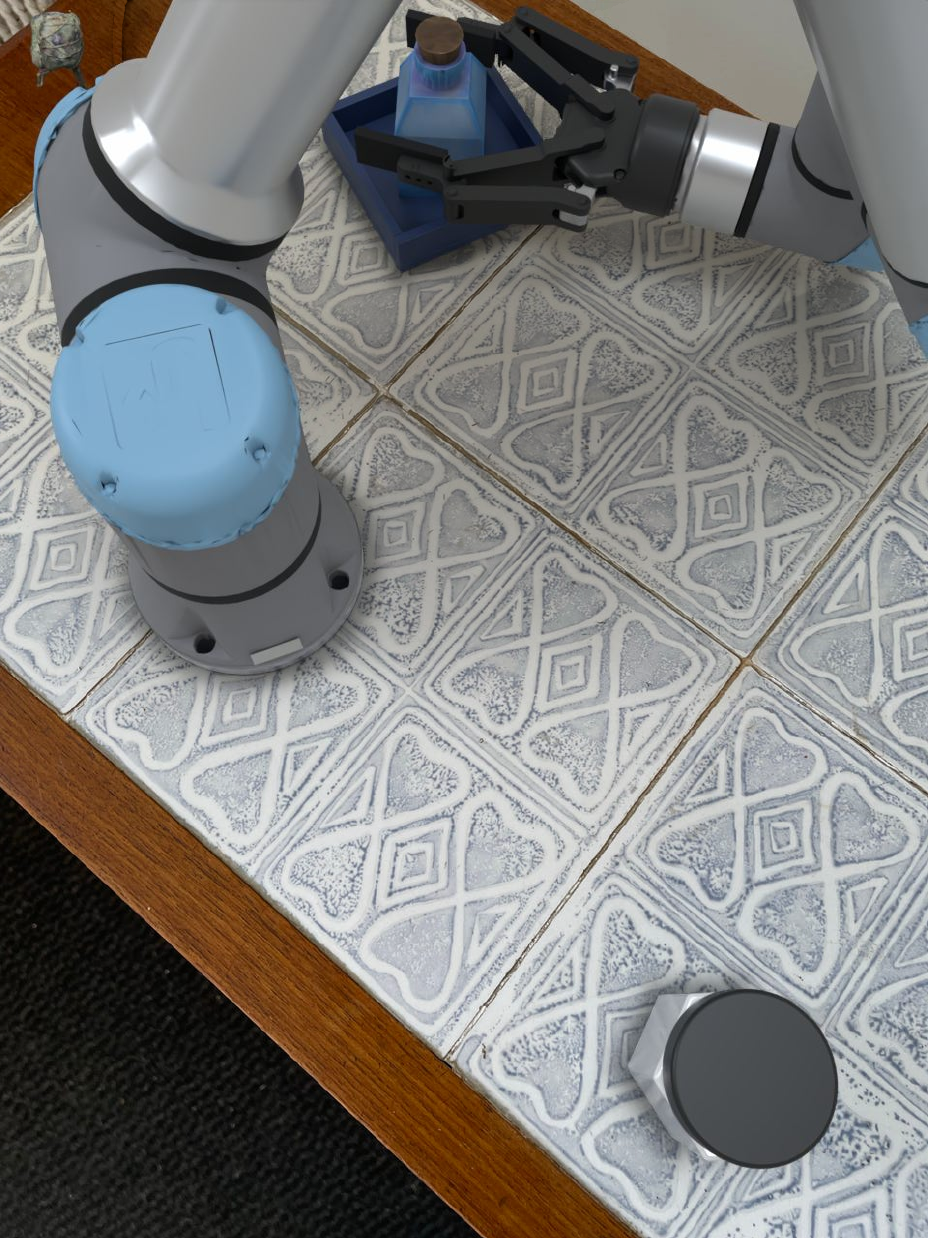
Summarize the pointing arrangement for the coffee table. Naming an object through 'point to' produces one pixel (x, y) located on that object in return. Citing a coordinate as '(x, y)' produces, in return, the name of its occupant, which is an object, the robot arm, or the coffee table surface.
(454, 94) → the perfume bottle
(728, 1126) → the jar
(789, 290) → the coffee table surface
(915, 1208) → the coffee table surface
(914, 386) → the coffee table surface
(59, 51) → the plant with pod
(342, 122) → the tray
